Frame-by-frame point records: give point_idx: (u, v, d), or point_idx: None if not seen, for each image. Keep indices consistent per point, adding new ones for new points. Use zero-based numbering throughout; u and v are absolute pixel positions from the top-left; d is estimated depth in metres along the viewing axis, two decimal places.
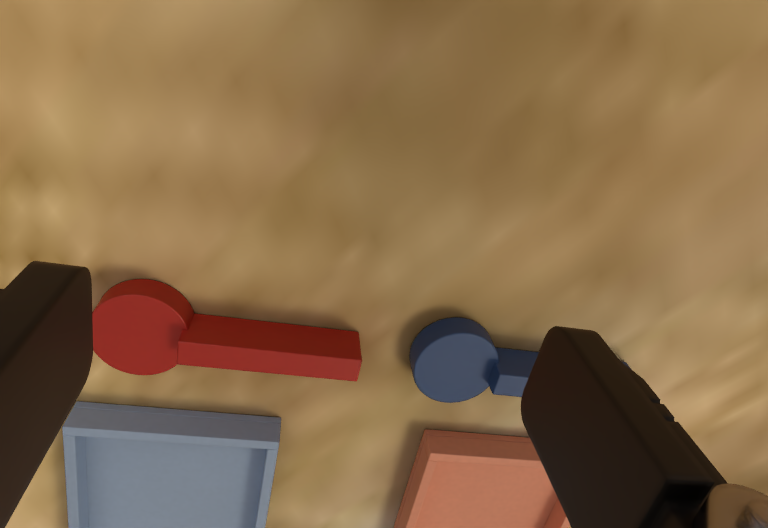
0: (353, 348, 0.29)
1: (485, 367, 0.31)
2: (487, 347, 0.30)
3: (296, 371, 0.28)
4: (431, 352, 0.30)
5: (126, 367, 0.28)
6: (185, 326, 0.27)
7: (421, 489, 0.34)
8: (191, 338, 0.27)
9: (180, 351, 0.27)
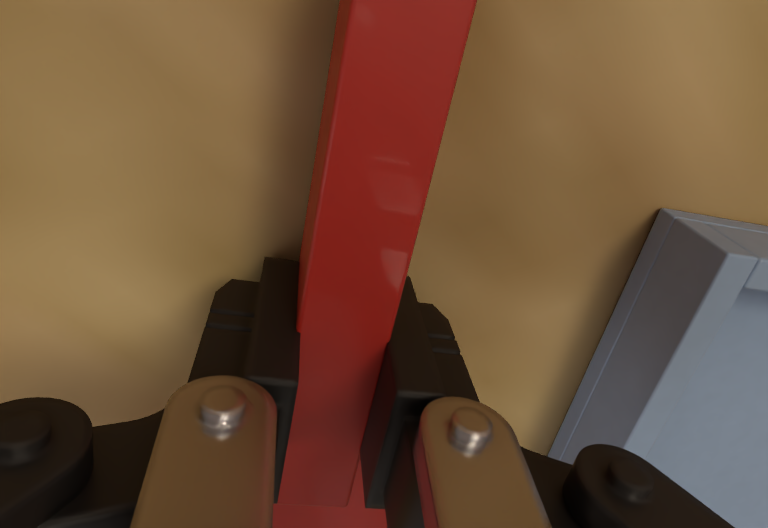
0: None
1: None
2: None
3: (404, 200, 0.07)
4: None
5: None
6: None
7: None
8: None
9: (302, 500, 0.10)
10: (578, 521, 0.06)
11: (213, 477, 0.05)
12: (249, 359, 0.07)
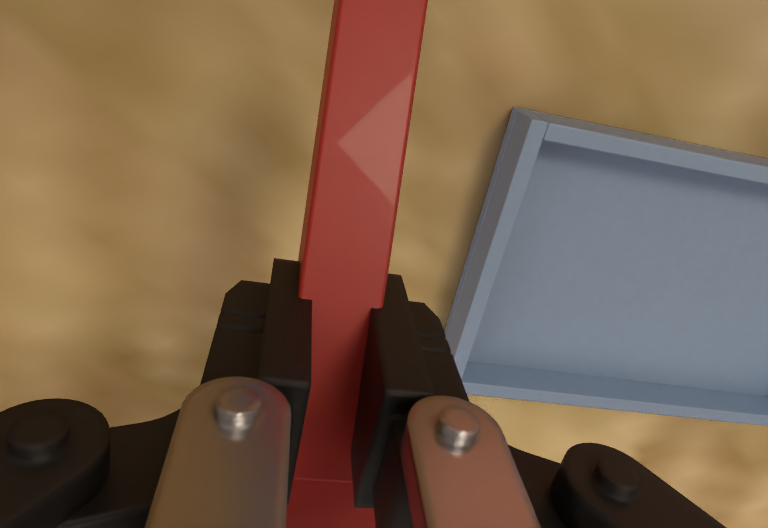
0: None
1: None
2: None
3: (391, 130, 0.09)
4: None
5: None
6: None
7: None
8: None
9: (309, 472, 0.09)
10: (565, 520, 0.06)
11: (228, 478, 0.05)
12: (261, 360, 0.07)
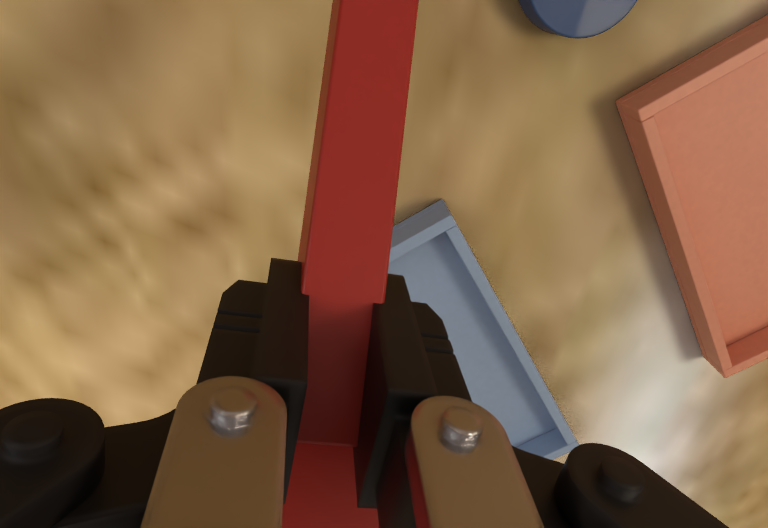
0: None
1: None
2: None
3: (391, 101, 0.10)
4: None
5: None
6: None
7: (661, 167, 0.25)
8: None
9: (319, 434, 0.09)
10: (569, 520, 0.06)
11: (223, 477, 0.05)
12: (258, 360, 0.07)
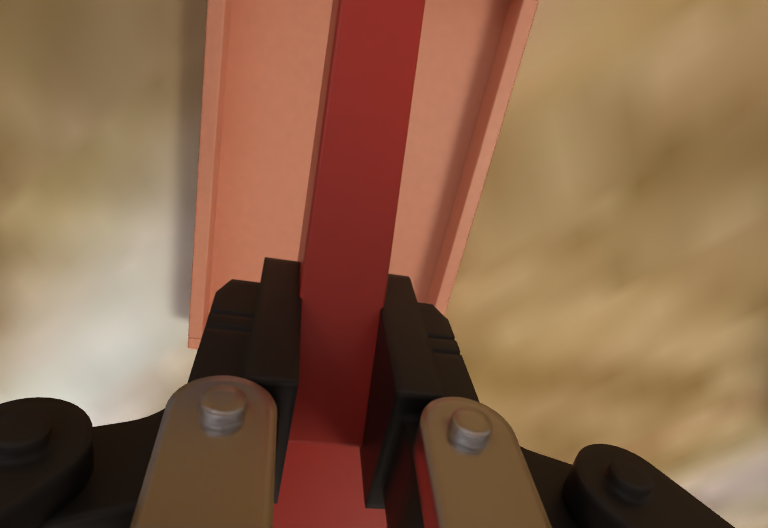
0: None
1: None
2: None
3: (395, 92, 0.09)
4: None
5: None
6: None
7: (213, 6, 0.19)
8: None
9: (316, 435, 0.09)
10: (578, 521, 0.06)
11: (213, 477, 0.05)
12: (249, 359, 0.07)
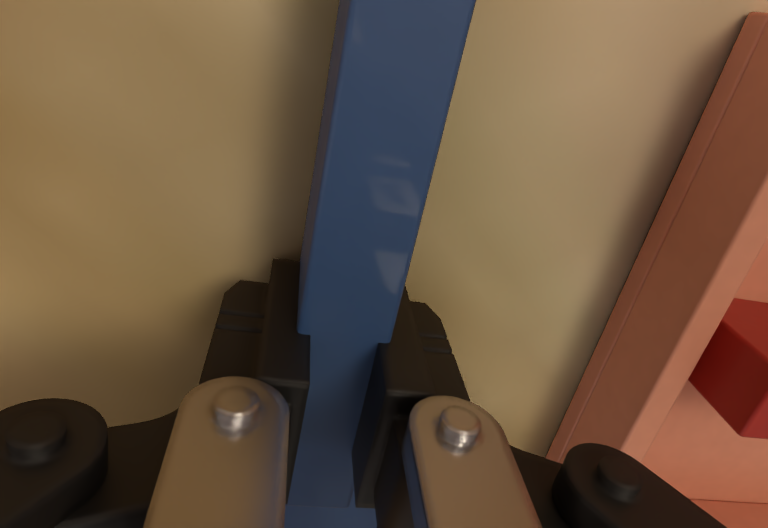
0: None
1: None
2: None
3: None
4: None
5: None
6: None
7: None
8: None
9: None
10: (567, 520, 0.06)
11: (226, 477, 0.05)
12: (260, 360, 0.07)
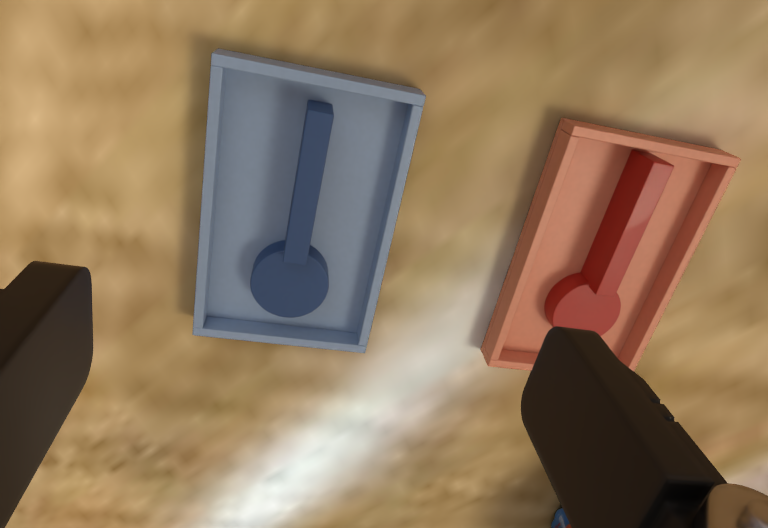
0: (642, 162, 0.33)
1: None
2: (265, 262, 0.33)
3: (647, 215, 0.34)
4: (270, 306, 0.35)
5: (609, 324, 0.38)
6: (586, 284, 0.37)
7: (559, 176, 0.33)
8: (596, 284, 0.36)
9: (604, 293, 0.36)
10: None
11: None
12: None
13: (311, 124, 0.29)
